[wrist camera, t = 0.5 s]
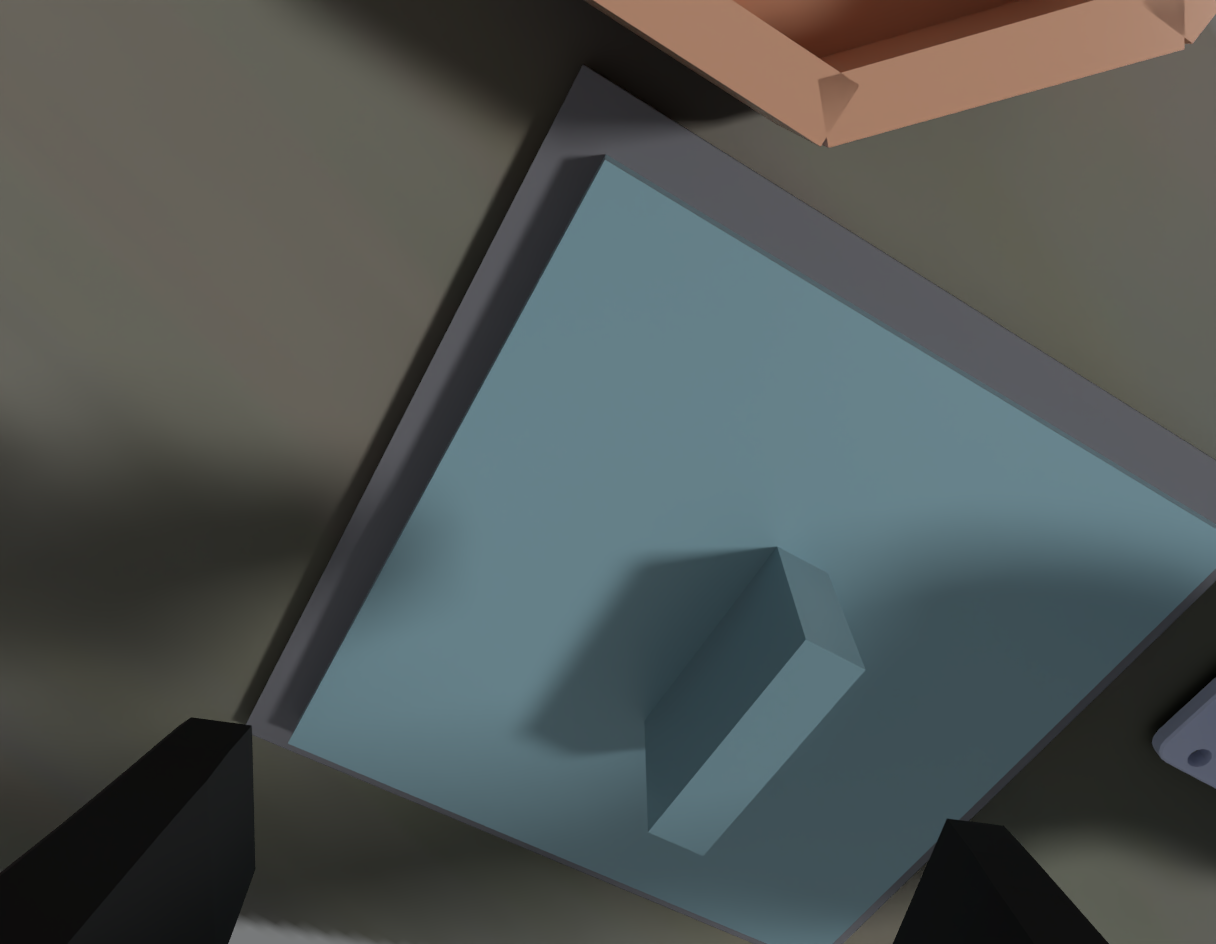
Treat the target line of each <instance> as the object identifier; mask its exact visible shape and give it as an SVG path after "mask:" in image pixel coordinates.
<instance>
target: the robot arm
mask: <svg viewBox="0 0 1216 944" xmlns="http://www.w3.org/2000/svg"><path fill="white" fill-rule="evenodd" d="M1152 745H1153V748H1154V750H1155V751H1156V752H1157V754H1158V755H1159V756H1160V758H1161V759H1162V760H1164V761H1165V762H1166V763H1168V764H1170V765H1172V766H1173V767H1175V768H1177V769H1179V770H1181V771H1183V772H1185V773H1187V774H1189V775H1191V776H1193V777H1194V778H1196V779H1198V780H1200V781H1202V782H1204V783H1206V784H1208V785H1210V786H1212V787H1213V788H1215V789H1216V677H1215V678H1214V679H1213V680H1212V681H1211V682H1210V683H1209V684H1208V685H1206V686H1205V687H1204V688H1203V689H1202V690H1201V691H1200V692H1199V693H1198V694H1197V695H1196V696H1194V697H1193V698H1192V699H1191V700H1190V701H1189V702H1188V703H1187V704H1186V705H1185V706H1184V707H1182V708H1181V709H1180V710H1179V711H1178V712H1177V713H1176V714H1175V715H1174V716H1173V717H1172V718H1170V719H1169V720H1168V721H1167V722H1166V723H1165V724H1164V725H1163V726H1162V727H1161V728H1160V729H1159V730H1158V731H1157V732H1156V733H1155V735H1154V736H1153V740H1152ZM1196 750H1198V751H1196ZM1194 751H1196V752H1194ZM1193 752H1194V753H1193ZM1191 753H1193V754H1191ZM254 871H255V842H254V798H253V755H252V726H251V725H244V724H236V723H229V722H221V721H214V720H206V719H199V718H190V719H188V720H187V721H185V722H184V723H182V724H181V725H179V726H178V727H177V728H176V729H175V730H173V731H172V732H171V733H170V734H169V735H167V736H166V737H165V738H164V739H163V740H162V741H160V742H159V743H158V744H157V745H156V746H154V747H153V748H152V749H151V750H150V751H148V752H147V753H146V754H145V755H144V756H143V757H141V758H140V759H139V760H138V761H137V762H136V763H134V764H133V765H132V766H131V767H130V768H128V769H127V770H126V771H125V772H124V773H122V774H121V775H120V776H119V777H118V778H117V779H115V780H114V781H113V782H112V783H111V784H109V785H108V786H107V787H106V788H105V789H103V790H102V791H101V792H100V793H99V794H97V795H96V796H95V797H94V798H93V799H91V800H90V801H89V802H88V803H87V804H85V805H84V806H83V807H82V808H81V809H79V810H78V811H77V812H76V813H74V814H73V815H72V816H71V817H70V818H68V819H67V820H66V821H65V822H64V823H62V824H61V825H60V826H59V827H57V828H56V829H55V830H54V831H52V832H51V833H50V834H49V835H47V836H46V837H45V838H44V839H42V840H41V841H40V842H39V843H37V844H36V845H35V846H33V847H32V848H31V849H30V850H28V851H27V852H26V853H25V854H23V855H22V856H21V857H20V858H18V859H17V860H16V861H15V862H13V863H12V864H11V865H10V866H8V867H7V868H6V869H5V870H3V871H2V872H1V873H0V944H228V942H229V940H230V937H231V935H232V932H233V929H234V927H235V924H236V921H237V918H238V916H239V913H240V910H241V907H242V905H243V902H244V899H245V896H246V893H247V891H248V888H249V885H250V882H251V879H252V877H253V874H254ZM893 944H1109V943H1108V942H1107V941H1106V940H1105V939H1104V938H1103V936H1102V935H1101V934H1100V933H1099V932H1098V931H1097V930H1096V929H1095V927H1094V926H1093V925H1092V924H1091V923H1090V922H1089V921H1088V919H1087V918H1086V917H1085V916H1084V915H1083V914H1082V913H1081V912H1080V910H1079V909H1078V908H1077V907H1076V906H1075V905H1074V904H1073V902H1072V901H1071V900H1070V899H1069V898H1068V897H1067V896H1066V894H1065V893H1064V892H1063V891H1062V890H1061V889H1060V888H1059V887H1058V885H1057V884H1056V883H1055V882H1054V881H1053V880H1052V879H1051V877H1050V876H1049V875H1048V874H1047V873H1046V872H1045V871H1044V870H1043V868H1042V867H1041V866H1040V865H1039V864H1038V863H1037V862H1036V861H1035V859H1034V858H1033V857H1032V856H1031V855H1030V854H1029V853H1028V852H1027V851H1026V849H1025V848H1024V847H1023V846H1022V845H1021V844H1020V843H1019V842H1018V841H1017V840H1016V839H1015V838H1014V836H1013V835H1012V834H1011V833H1010V832H1009V831H1008V830H1007V829H1006V828H1005V827H1004V826H1000V825H992V824H985V823H977V822H970V821H962V820H955V819H946V822H945V824H944V826H943V828H942V831H941V833H940V835H939V838H938V840H937V842H936V845H935V847H934V849H933V852H932V854H931V856H930V859H929V861H928V863H927V866H926V868H925V870H924V873H923V875H922V877H921V880H920V882H919V884H918V887H917V889H916V891H915V894H914V896H913V898H912V900H911V903H910V905H909V907H908V910H907V912H906V914H905V917H904V919H903V921H902V924H901V926H900V928H899V931H898V933H897V935H896V938H895V940H894V942H893Z"/></svg>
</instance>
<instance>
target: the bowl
mask: <svg viewBox="0 0 1216 944" xmlns="http://www.w3.org/2000/svg"><path fill="white" fill-rule="evenodd" d="M584 1H585V2H587V3H589V4H590V5H592V6H593V7H595V8H596V9H598V10H599V11H601V12H603V13H604V14H606V15H607V16H609V17H610V18H612V19H613V20H615V21H617V22H618V23H620V24H621V25H623V26H624V27H626V28H627V29H629V30H631V31H632V32H634V33H635V34H637V35H638V36H640V37H642V38H643V39H645V40H646V41H648V42H649V43H651V44H652V45H654V46H656V47H657V48H659V49H660V50H662V51H663V52H665V53H666V54H668V55H670V56H671V57H673V58H674V59H676V60H677V61H679V62H680V63H682V64H684V65H685V66H687V67H688V68H690V69H691V70H693V71H694V72H696V73H698V74H699V75H701V76H702V77H704V78H705V79H707V80H708V81H710V82H712V83H713V84H715V85H716V86H718V87H719V88H721V89H722V90H724V91H726V92H727V93H729V94H730V95H732V96H733V97H735V98H736V99H738V100H740V101H741V102H743V103H744V104H746V105H747V106H749V107H750V108H752V109H754V110H755V111H757V112H758V113H760V114H761V115H763V116H764V117H766V118H768V119H769V120H771V121H772V122H774V123H775V124H777V125H779V126H781V127H783V128H785V129H787V130H789V131H791V132H793V133H795V134H797V135H799V136H801V137H802V138H804V139H806V140H808V141H810V142H812V143H814V144H816V145H818V146H820V147H821V145H824V146H826V147H828V148H829V147H833V146H837V145H840V144H844V143H847V142H851V141H855V140H858V139H862V138H866V137H869V136H873V135H876V134H880V133H884V132H887V131H891V130H894V129H898V128H902V127H905V126H909V125H912V124H916V123H920V122H923V121H927V120H931V119H934V118H938V117H941V116H945V115H949V114H952V113H956V112H959V111H963V110H967V109H970V108H974V107H978V106H981V105H985V104H988V103H992V102H996V101H999V100H1003V99H1006V98H1010V97H1014V96H1017V95H1021V94H1024V93H1028V92H1032V91H1035V90H1039V89H1043V88H1046V87H1050V86H1053V85H1057V84H1061V83H1064V82H1068V81H1071V80H1075V79H1079V78H1082V77H1086V76H1089V75H1093V74H1097V73H1100V72H1104V71H1108V70H1111V69H1115V68H1118V67H1122V66H1126V65H1129V64H1133V63H1136V62H1140V61H1144V60H1147V59H1151V58H1154V57H1158V56H1162V55H1165V54H1169V53H1173V52H1176V51H1180V50H1183V49H1184V43H1193V42H1194V41H1195V40H1196V39H1197V37H1198V36H1199V35H1200V33H1201V32H1202V31H1203V30H1204V28H1205V27H1206V26H1207V24H1208V23H1209V22H1210V20H1211V19H1212V18H1213V17H1214V15H1215V14H1216V0H584Z"/></svg>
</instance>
